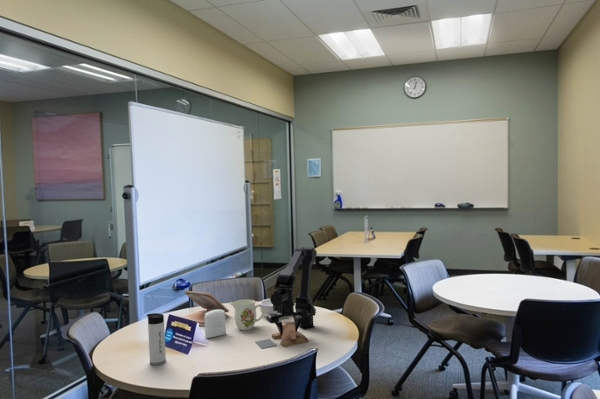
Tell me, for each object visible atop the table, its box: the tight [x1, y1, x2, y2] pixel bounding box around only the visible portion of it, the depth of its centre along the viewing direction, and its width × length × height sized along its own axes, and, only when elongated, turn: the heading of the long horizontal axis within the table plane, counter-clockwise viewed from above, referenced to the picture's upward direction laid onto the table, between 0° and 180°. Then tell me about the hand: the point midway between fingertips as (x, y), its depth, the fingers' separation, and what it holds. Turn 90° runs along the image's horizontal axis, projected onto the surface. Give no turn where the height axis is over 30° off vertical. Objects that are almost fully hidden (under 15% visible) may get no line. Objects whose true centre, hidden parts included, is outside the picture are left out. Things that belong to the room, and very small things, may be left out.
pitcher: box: [228, 298, 265, 331], centre depth 216 cm, size 11×18×14 cm, turn 115°
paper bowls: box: [259, 298, 281, 318], centre depth 235 cm, size 15×15×8 cm
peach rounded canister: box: [280, 320, 296, 342], centre depth 196 cm, size 10×7×8 cm
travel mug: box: [146, 312, 167, 366], centre depth 177 cm, size 6×7×20 cm
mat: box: [255, 338, 277, 350], centre depth 193 cm, size 7×9×1 cm
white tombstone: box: [204, 310, 227, 339], centre depth 206 cm, size 10×4×12 cm, turn 123°
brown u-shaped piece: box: [271, 330, 309, 348], centre depth 198 cm, size 12×14×2 cm
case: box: [183, 290, 230, 327], centre depth 234 cm, size 20×21×16 cm
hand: (288, 334), depth 198 cm, fingers closed on peach rounded canister, 7 cm apart
